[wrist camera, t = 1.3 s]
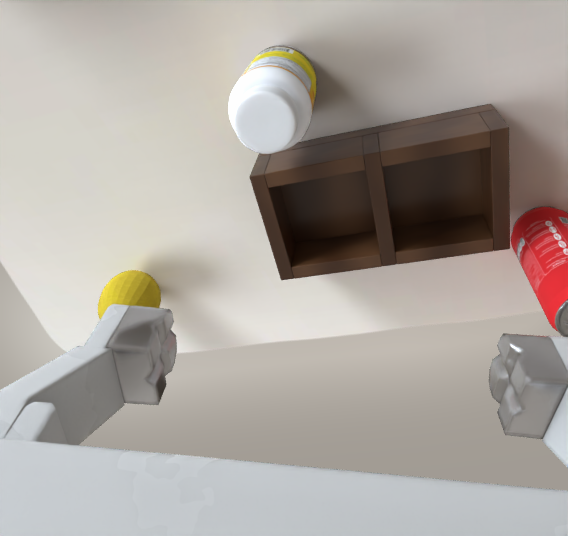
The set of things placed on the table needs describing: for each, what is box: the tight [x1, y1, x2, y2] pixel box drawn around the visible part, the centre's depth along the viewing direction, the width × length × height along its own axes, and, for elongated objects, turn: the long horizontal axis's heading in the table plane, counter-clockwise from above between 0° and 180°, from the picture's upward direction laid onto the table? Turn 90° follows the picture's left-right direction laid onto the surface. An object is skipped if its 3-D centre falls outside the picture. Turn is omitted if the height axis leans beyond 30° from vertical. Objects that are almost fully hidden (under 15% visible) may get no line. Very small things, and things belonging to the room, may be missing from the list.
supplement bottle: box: [228, 45, 317, 154], centre depth 35 cm, size 6×6×10 cm
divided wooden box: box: [250, 104, 510, 280], centre depth 41 cm, size 19×10×6 cm, turn 104°
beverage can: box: [511, 207, 568, 337], centre depth 39 cm, size 5×5×12 cm
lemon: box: [98, 270, 161, 319], centre depth 49 cm, size 6×6×8 cm
